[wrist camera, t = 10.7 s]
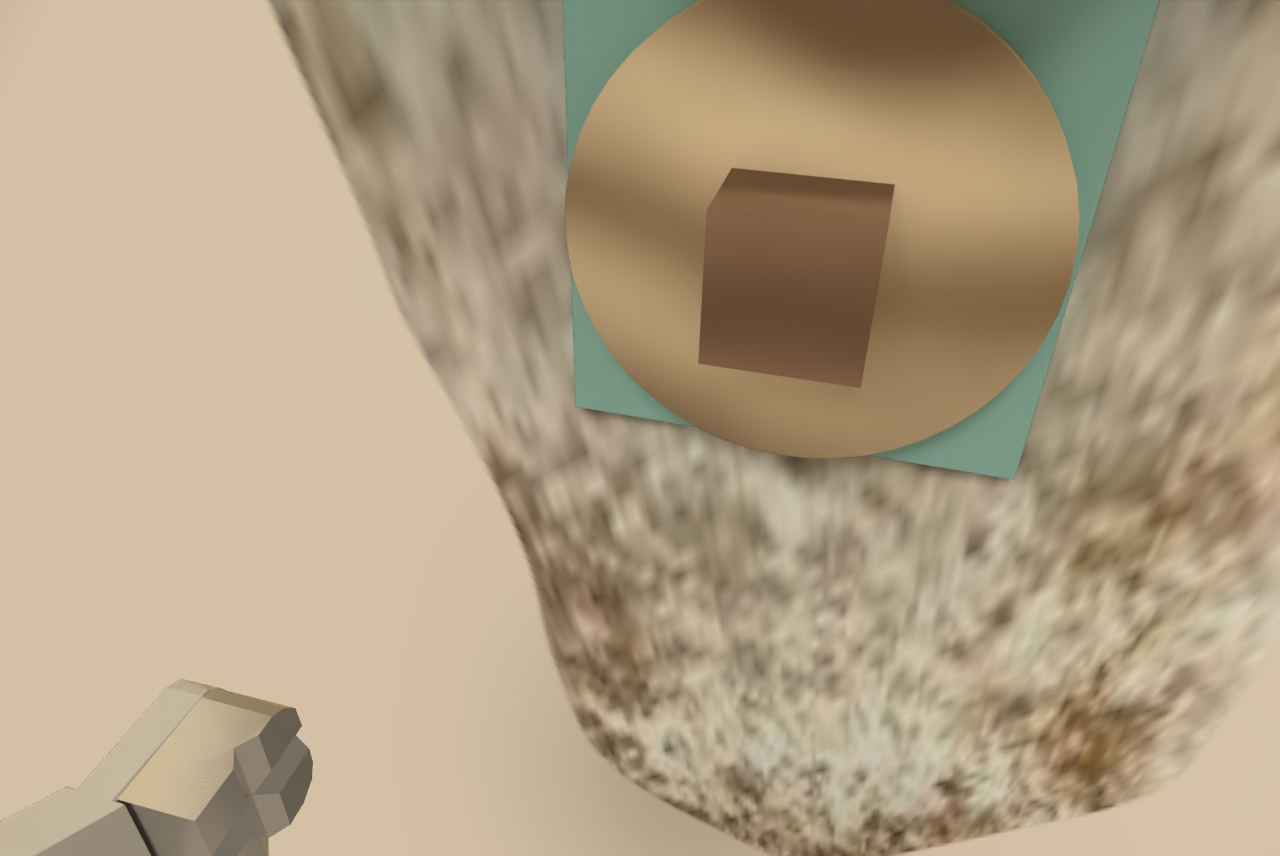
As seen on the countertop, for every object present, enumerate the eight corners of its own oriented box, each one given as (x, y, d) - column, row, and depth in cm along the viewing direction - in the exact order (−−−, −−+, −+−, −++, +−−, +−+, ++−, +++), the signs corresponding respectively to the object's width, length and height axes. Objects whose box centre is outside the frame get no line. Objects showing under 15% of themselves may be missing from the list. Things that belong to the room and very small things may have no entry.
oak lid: (572, -48, 23) (505, -21, 19) (1147, -17, 20) (1186, 20, 17) (584, 400, 30) (537, 476, 27) (1005, 468, 27) (1012, 562, 24)
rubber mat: (568, -66, 23) (561, -63, 23) (1163, -36, 20) (1168, -30, 20) (581, 397, 31) (575, 406, 30) (1013, 468, 28) (1013, 479, 27)
